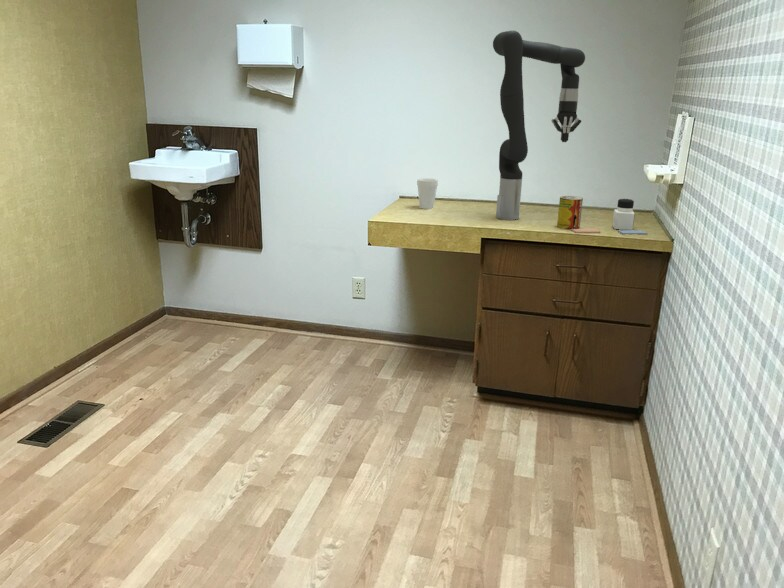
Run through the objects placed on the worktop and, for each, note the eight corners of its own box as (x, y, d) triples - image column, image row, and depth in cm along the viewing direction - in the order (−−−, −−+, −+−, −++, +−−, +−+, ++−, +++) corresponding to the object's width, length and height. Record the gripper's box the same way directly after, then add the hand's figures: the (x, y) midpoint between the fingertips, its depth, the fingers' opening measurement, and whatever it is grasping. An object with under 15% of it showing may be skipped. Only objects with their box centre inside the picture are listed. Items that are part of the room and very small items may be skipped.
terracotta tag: (575, 233, 252) (576, 231, 251) (571, 230, 256) (571, 228, 256) (600, 233, 253) (600, 231, 252) (595, 230, 257) (595, 228, 257)
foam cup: (437, 210, 292) (438, 181, 288) (416, 209, 292) (417, 181, 288) (435, 206, 301) (437, 178, 297) (416, 205, 301) (417, 178, 297)
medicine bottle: (632, 230, 258) (636, 201, 254) (614, 229, 259) (618, 200, 256) (630, 227, 265) (634, 198, 261) (612, 226, 266) (615, 197, 262)
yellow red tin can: (562, 229, 258) (565, 199, 254) (553, 225, 266) (556, 196, 262) (583, 229, 259) (586, 199, 255) (573, 224, 268) (576, 195, 264)
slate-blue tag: (623, 234, 251) (623, 233, 250) (617, 231, 255) (617, 230, 255) (647, 234, 252) (647, 233, 252) (641, 231, 256) (641, 230, 256)
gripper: (556, 99, 266) (552, 142, 272) (587, 100, 268) (582, 143, 273) (550, 99, 273) (546, 141, 279) (580, 100, 275) (575, 141, 280)
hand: (564, 142), depth 276 cm, fingers closed
